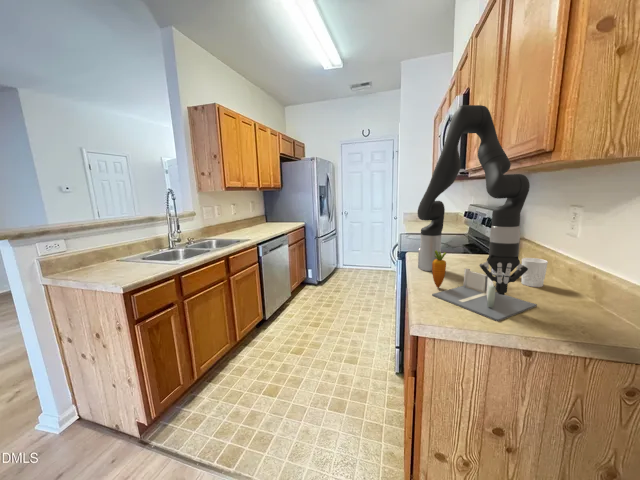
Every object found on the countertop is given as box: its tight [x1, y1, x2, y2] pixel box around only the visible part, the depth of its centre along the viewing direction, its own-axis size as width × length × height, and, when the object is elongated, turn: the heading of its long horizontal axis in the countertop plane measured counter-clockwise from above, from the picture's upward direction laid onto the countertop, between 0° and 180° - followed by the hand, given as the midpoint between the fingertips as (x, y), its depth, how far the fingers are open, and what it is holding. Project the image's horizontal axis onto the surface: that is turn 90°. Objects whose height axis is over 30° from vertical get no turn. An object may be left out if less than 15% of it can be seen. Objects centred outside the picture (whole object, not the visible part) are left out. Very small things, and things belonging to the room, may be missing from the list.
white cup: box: [520, 257, 549, 288], centre depth 103 cm, size 8×8×10 cm
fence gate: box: [486, 277, 496, 308], centre depth 88 cm, size 13×2×7 cm, turn 151°
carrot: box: [431, 250, 447, 289], centre depth 102 cm, size 5×5×15 cm
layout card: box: [431, 285, 538, 322], centre depth 90 cm, size 23×21×1 cm
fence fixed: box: [462, 267, 492, 293], centre depth 98 cm, size 10×2×8 cm, turn 26°
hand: (500, 293), depth 84 cm, fingers closed
